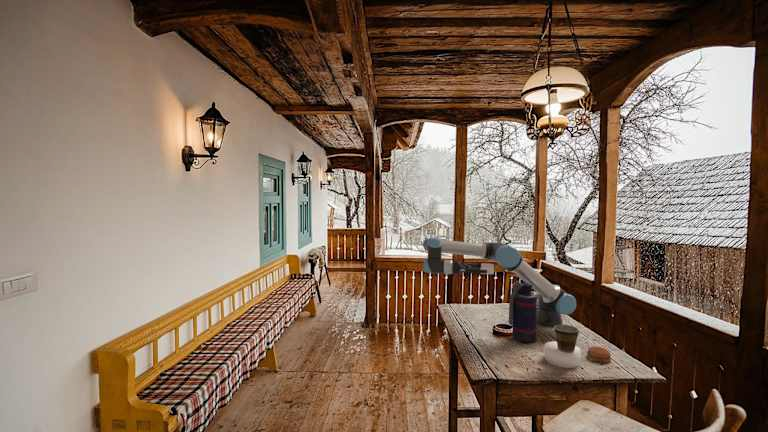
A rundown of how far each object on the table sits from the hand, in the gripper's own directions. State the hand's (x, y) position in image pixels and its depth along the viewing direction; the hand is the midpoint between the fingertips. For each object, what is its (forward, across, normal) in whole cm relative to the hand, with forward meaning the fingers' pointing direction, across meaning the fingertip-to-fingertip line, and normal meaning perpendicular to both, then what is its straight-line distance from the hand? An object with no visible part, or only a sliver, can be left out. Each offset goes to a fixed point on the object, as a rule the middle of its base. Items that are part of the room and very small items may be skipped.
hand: (493, 269), depth 193 cm
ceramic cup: (+30, +20, -32) cm, 48 cm away
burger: (+47, +10, -38) cm, 61 cm away
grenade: (+15, -5, -38) cm, 41 cm away
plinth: (+30, +17, -38) cm, 51 cm away
